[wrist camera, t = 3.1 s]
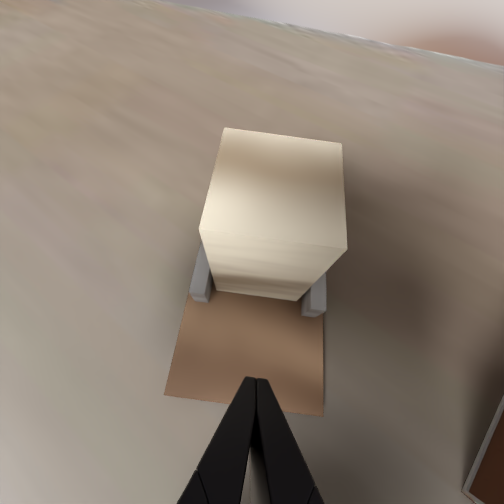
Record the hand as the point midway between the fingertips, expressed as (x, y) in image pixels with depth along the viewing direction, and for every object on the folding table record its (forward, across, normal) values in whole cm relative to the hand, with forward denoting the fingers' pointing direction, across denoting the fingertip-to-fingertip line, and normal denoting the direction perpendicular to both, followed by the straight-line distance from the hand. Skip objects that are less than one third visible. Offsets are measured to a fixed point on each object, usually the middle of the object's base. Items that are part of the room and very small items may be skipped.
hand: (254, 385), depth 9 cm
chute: (+12, 0, -1) cm, 12 cm away
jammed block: (+11, 0, -1) cm, 11 cm away
